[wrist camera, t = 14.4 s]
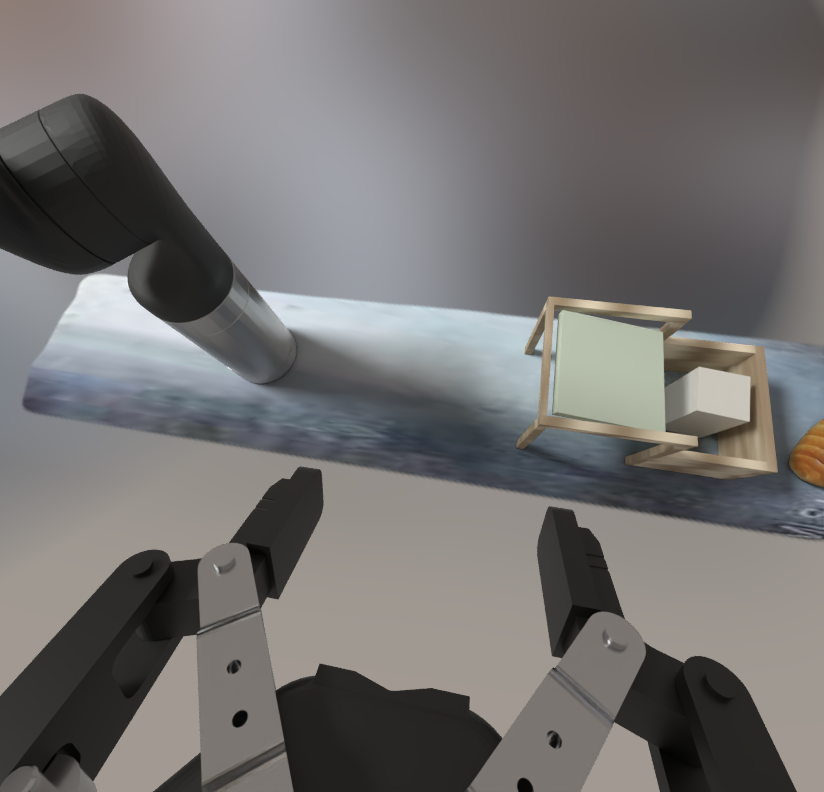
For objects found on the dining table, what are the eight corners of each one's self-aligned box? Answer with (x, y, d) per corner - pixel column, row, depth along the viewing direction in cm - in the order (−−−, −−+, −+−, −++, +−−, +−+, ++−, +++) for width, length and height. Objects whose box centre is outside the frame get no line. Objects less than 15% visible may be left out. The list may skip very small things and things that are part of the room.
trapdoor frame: (516, 448, 48) (539, 424, 36) (525, 347, 52) (548, 296, 40) (728, 479, 45) (830, 464, 33) (720, 370, 49) (808, 322, 37)
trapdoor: (551, 414, 37) (557, 411, 36) (558, 314, 41) (563, 309, 40) (657, 435, 38) (665, 433, 37) (656, 336, 41) (662, 332, 40)
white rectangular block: (749, 421, 39) (700, 437, 47) (750, 376, 41) (702, 399, 48) (696, 410, 40) (656, 428, 48) (699, 366, 41) (659, 390, 49)
